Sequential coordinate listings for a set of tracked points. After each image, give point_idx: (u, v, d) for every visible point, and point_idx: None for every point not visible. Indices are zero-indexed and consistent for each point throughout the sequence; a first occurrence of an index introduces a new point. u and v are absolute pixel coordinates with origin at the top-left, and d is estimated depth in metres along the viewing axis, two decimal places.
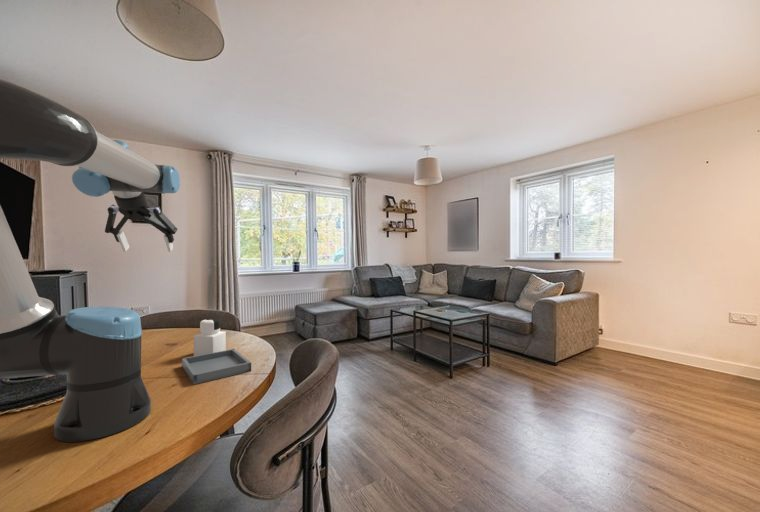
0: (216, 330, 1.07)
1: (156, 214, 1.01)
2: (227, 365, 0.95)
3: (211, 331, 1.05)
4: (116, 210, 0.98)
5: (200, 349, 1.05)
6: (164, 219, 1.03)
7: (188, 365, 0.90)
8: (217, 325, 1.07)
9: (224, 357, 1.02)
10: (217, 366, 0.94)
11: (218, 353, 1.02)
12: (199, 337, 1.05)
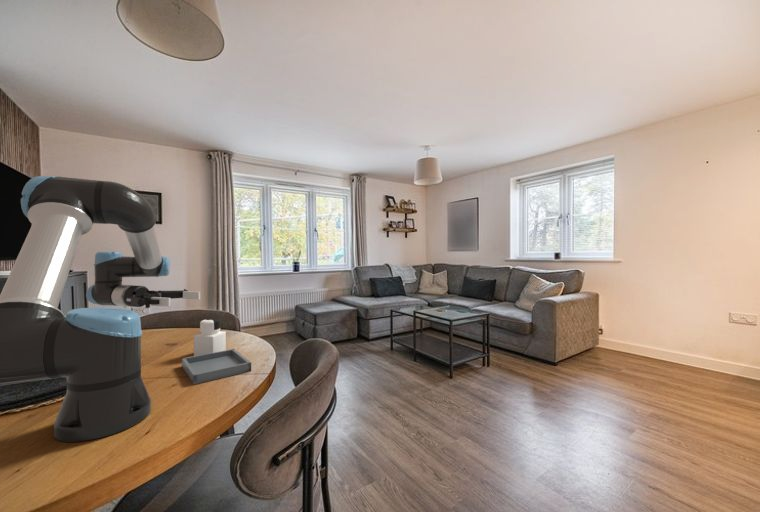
0: (216, 330, 1.07)
1: (163, 291, 1.17)
2: (227, 365, 0.95)
3: (211, 331, 1.05)
4: None
5: (200, 349, 1.05)
6: None
7: (188, 365, 0.90)
8: (217, 325, 1.07)
9: (224, 357, 1.02)
10: (217, 366, 0.94)
11: (218, 353, 1.02)
12: (199, 337, 1.05)
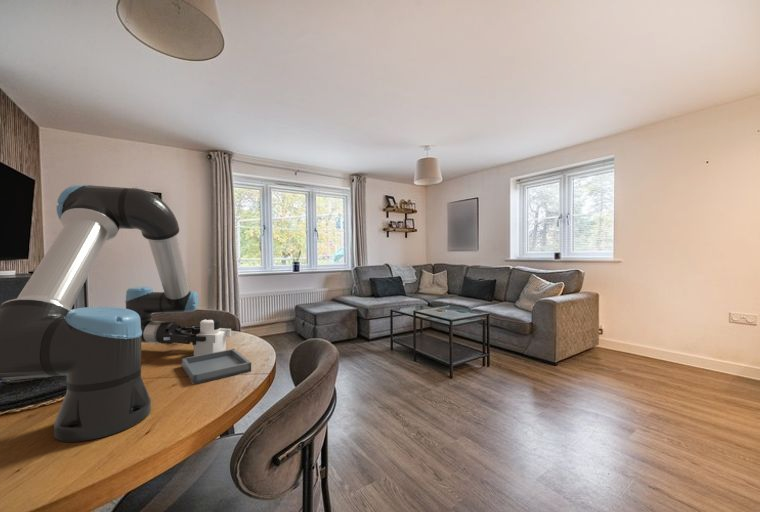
0: (216, 330, 1.07)
1: (195, 326, 1.15)
2: (227, 365, 0.95)
3: (211, 331, 1.06)
4: None
5: (200, 348, 1.05)
6: None
7: (188, 365, 0.90)
8: (217, 325, 1.07)
9: (224, 357, 1.02)
10: (217, 366, 0.94)
11: (218, 353, 1.02)
12: None
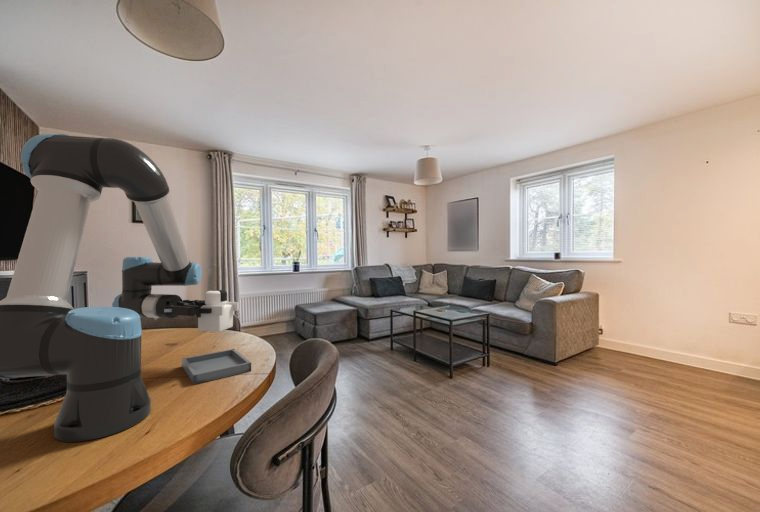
0: (223, 302, 0.96)
1: (198, 300, 1.05)
2: (227, 365, 0.95)
3: (217, 303, 0.95)
4: None
5: (205, 322, 0.94)
6: None
7: (188, 365, 0.90)
8: (224, 297, 0.97)
9: (224, 357, 1.02)
10: (217, 366, 0.94)
11: (218, 353, 1.02)
12: None
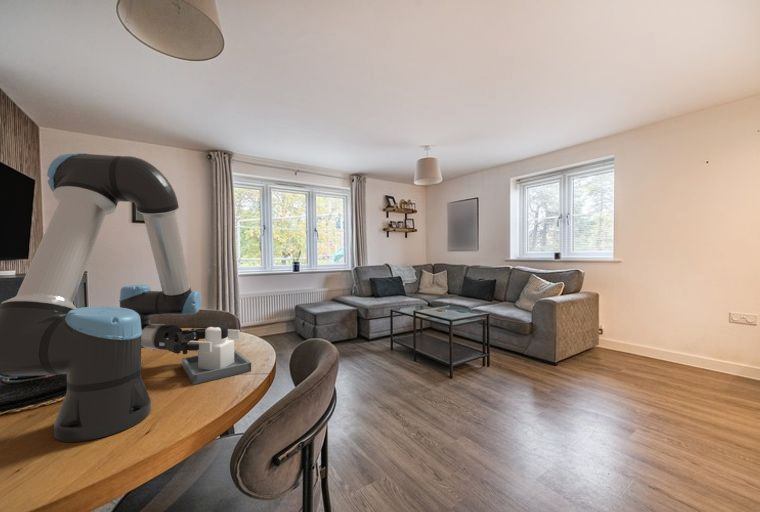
0: (224, 339, 0.93)
1: (196, 329, 1.02)
2: None
3: (218, 340, 0.92)
4: None
5: (206, 360, 0.91)
6: None
7: (188, 365, 0.90)
8: (225, 333, 0.94)
9: None
10: None
11: None
12: None
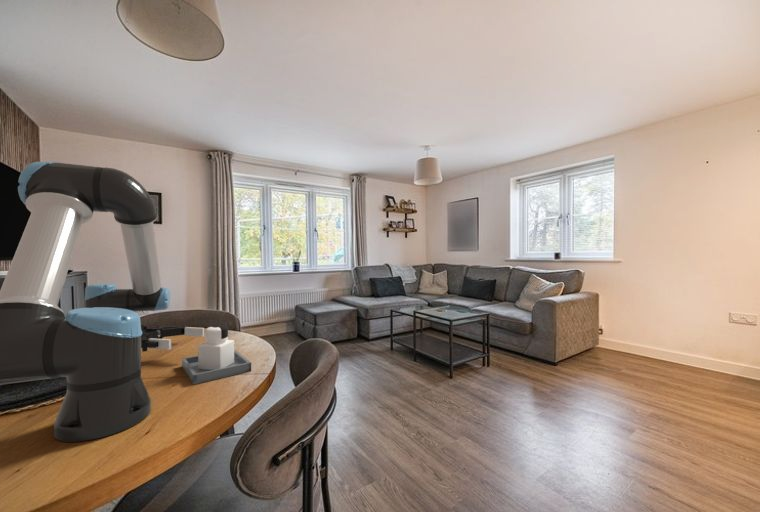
0: (224, 339, 0.93)
1: (162, 327, 1.04)
2: None
3: (218, 340, 0.92)
4: None
5: (206, 360, 0.91)
6: None
7: (188, 365, 0.90)
8: (225, 333, 0.94)
9: None
10: None
11: None
12: (204, 347, 0.91)
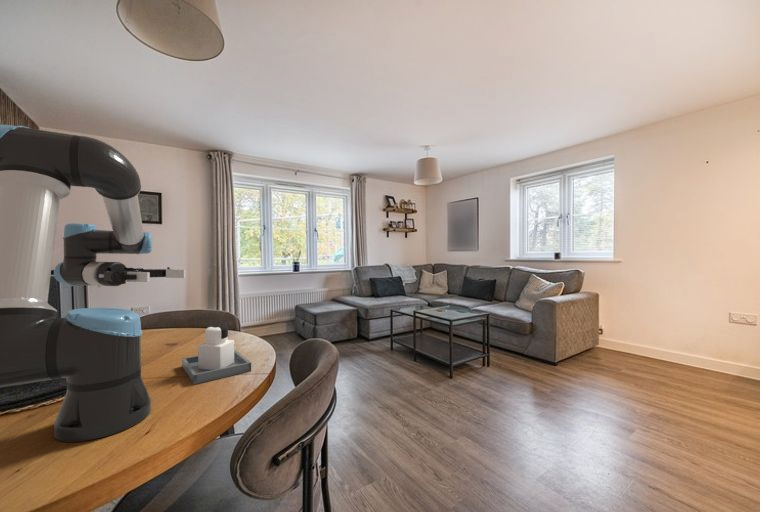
0: (224, 339, 0.93)
1: (143, 269, 1.03)
2: None
3: (218, 340, 0.92)
4: None
5: (206, 360, 0.91)
6: None
7: (188, 365, 0.90)
8: (225, 333, 0.94)
9: None
10: None
11: None
12: (204, 347, 0.91)
